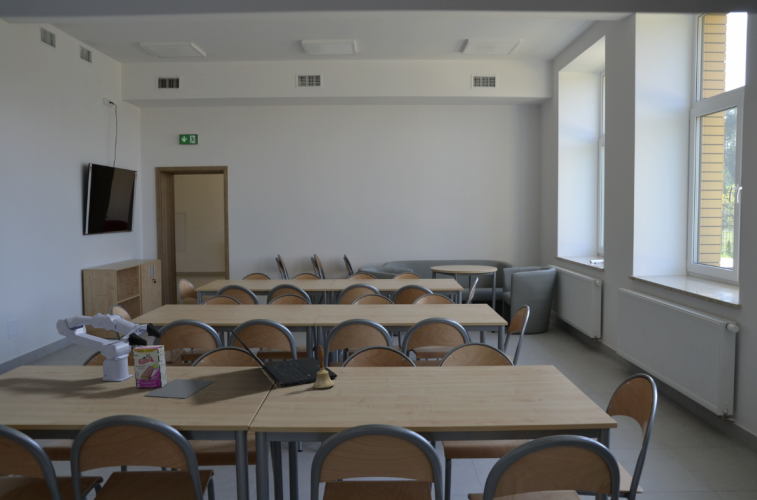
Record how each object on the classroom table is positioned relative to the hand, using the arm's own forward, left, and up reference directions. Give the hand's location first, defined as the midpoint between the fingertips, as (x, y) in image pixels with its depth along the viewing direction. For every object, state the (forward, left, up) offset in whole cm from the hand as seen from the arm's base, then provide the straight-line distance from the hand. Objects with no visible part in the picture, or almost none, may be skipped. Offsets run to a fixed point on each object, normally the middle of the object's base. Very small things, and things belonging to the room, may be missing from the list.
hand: (153, 339), depth 222 cm
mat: (+15, -5, -18) cm, 24 cm away
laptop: (+49, +18, -19) cm, 55 cm away
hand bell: (+71, +6, -18) cm, 74 cm away
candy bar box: (+2, -5, -18) cm, 19 cm away
